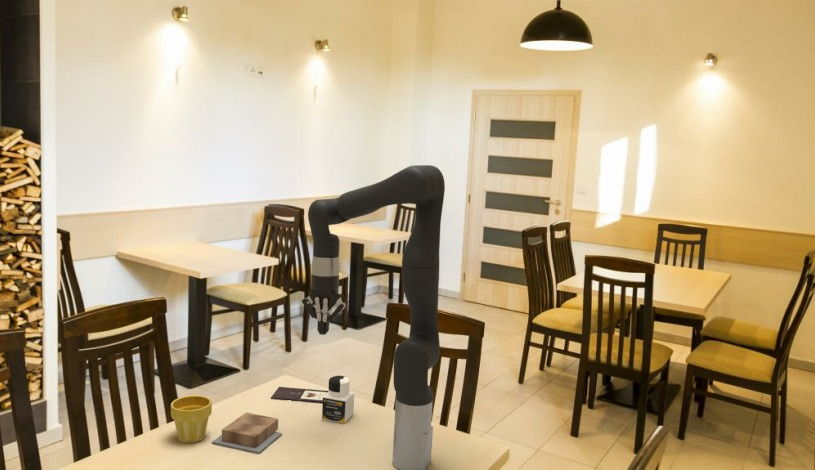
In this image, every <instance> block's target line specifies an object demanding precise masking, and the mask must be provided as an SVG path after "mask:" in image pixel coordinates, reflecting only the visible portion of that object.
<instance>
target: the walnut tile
mask: <svg viewBox="0 0 815 470" xmlns="http://www.w3.org/2000/svg"><path fill="white" fill-rule="evenodd" d="M278 429H279V418H276V417H271V416H266V415H261V414H257V413H251V412H245V413H243V414H242V415H240V416H239V417H238V418H236V419H234V420H233V421H232V422H231V423H229V424H227V425H226V426H225V427H223V428H222V429H221V435H222V441H227V442H231V443H236V444H241V445H245V446H250V447H255V448H256V447H257V446H258V445H259V444H261V443H262V442H263V441H264V440H265V439H267V438H268V437H269V436H270V435H271V434H273V433H274V432H277V431H278Z"/></svg>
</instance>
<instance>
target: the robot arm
mask: <svg viewBox="0 0 815 470" xmlns="http://www.w3.org/2000/svg"><path fill="white" fill-rule="evenodd" d="M445 189H446V186H445V178H444V175H443V173H442V171H441V170H440V169H439V168H438V166H436V165H435V166H434V165H431V164H430V165H429V164H428V165H427V164H425V165H424V164H422V165H421V164H419V165H410V166H407V167H406V168H404V169H401V170H400V171H398V172H396V173H394V174H393V175H391V176H389V177H386V178H385V179H383V180H381V181H379V182H376V183H373V184H370V185H366V186H363V187H359V188H356V189H353V190H349V191H347V192H343V193H342V194H340V195H339V196H338V197H335V198H325V199H321V198H320V199H315V200H314V201H312V202H311V203H310V205H309V206H308V207H309V208H308V212H307V218H308V225H309V228H310V229H309V230H310V234H311V238H312V242H313V243H312V244H313V245H312V259H311V271H310V272H311V273H310V274H311V275H310V292H309V295H308V296H307V297H305V298H303V299H301V303H302V305H303V306H304V307H305V310H306V311H307V312H308V314H309V315H310V318H312V319H316V321H317V329H316V330H317V332H318V335H320V336H321V335H324V336H325V335H327V333H328V332H329V331H330V322H332V321H333V320H335V319H337V317H338V316H339V315H340V314H341V313H342V312H343V311H344V309H345V308H346V307H347V305H348V304H347V303H346V302H344V301H343V300H341V297H340V294H339V288H340V286H339V285H340V273H341V272H340V237H339V236H338V235H337V234H335V233H331V230H330V226H333V225H340V224H342V223H343V224H344V223H346V222H348V221H350V220H351V219H357V218H359V217H360V218H361V217H363V216H367V215H369V214H372V213H375V212H376V211H379V210H380V209H382V208H384V207H388V206H392V205H406V204H409V205H410V204H411V205H412V204H413V205H415V216H414V224H413V228H412V230H411V233H410V235H409V238H408V239H407V242H406V244H405V247H404V250H403V253H402V257H401V286H402V290H403V293H404V294H403V295H404V296H405V299H406V302H407V305H408V307H409V308H408V309H409V312H410V325H409V326H410V328H409V329H410V330H409V336H408V338H406V339H404V340H402V341H401V342H399V344H398V345H397V346H396V348H395V350H394V355H393V388H394V391H395V406H394V407H395V408H394V426H393V427H394V428H393V441H392V442H393V443H392V444H393V446H392V465H393V466H394V467H395V468H396V469H397V470H428V469H427V468H428V467H429V466H430V464H431V462H432V453H433V452H432V451H433V449H432V448H433V438H434V437H433V435H434V426H432V415H433V414H432V412H433V399H434V398H433V397H434V390H433V388H432V387H431V386H430V385H428V382H429V370H430V369H432V368H434V366H435V365H436V364H437V362H438V360H439V359H440V354H441V353H440V352H441V347H440V332H439V321H438V320H439V319H438V318H439V317H438V313H439V312H438V311H439V286H440V285H439V284H440V248H441V247H440V245H441V244H440V243H441V225H442V215H443V205H444V198H445V191H446V190H445ZM334 307H336V308H335V310H334V311H332V310H333V308H334Z"/></svg>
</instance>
